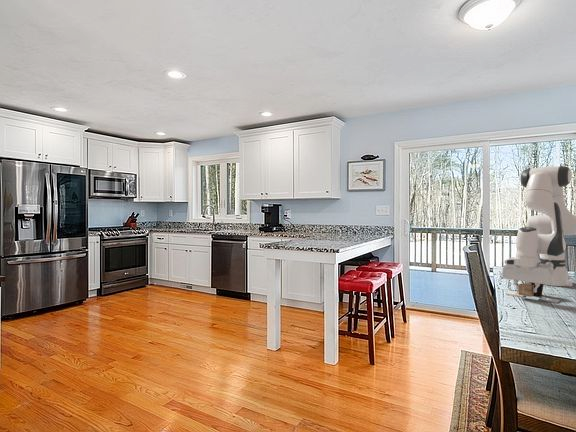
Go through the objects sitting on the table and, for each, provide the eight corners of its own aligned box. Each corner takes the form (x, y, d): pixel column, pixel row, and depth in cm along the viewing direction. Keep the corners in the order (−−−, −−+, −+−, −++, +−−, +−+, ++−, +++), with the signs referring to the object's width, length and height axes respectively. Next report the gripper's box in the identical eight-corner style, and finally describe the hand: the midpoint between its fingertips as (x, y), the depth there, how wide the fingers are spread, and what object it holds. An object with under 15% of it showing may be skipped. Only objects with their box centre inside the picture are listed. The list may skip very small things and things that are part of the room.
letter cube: (521, 293, 171) (521, 283, 172) (533, 295, 168) (534, 285, 168) (518, 294, 168) (518, 284, 168) (530, 296, 164) (531, 285, 164)
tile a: (542, 297, 170) (542, 296, 170) (560, 300, 165) (560, 299, 165) (538, 300, 166) (538, 299, 166) (556, 303, 160) (556, 302, 160)
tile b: (510, 292, 181) (510, 291, 181) (526, 295, 176) (527, 293, 176) (506, 294, 176) (506, 293, 176) (522, 297, 171) (522, 296, 171)
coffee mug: (548, 297, 172) (548, 276, 171) (528, 296, 173) (528, 275, 173) (536, 291, 183) (536, 272, 183) (517, 290, 185) (518, 271, 184)
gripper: (555, 263, 162) (554, 294, 162) (505, 258, 177) (504, 286, 178) (552, 265, 158) (551, 296, 158) (500, 260, 173) (500, 288, 174)
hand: (526, 290), depth 168 cm, fingers closed on letter cube, 5 cm apart
